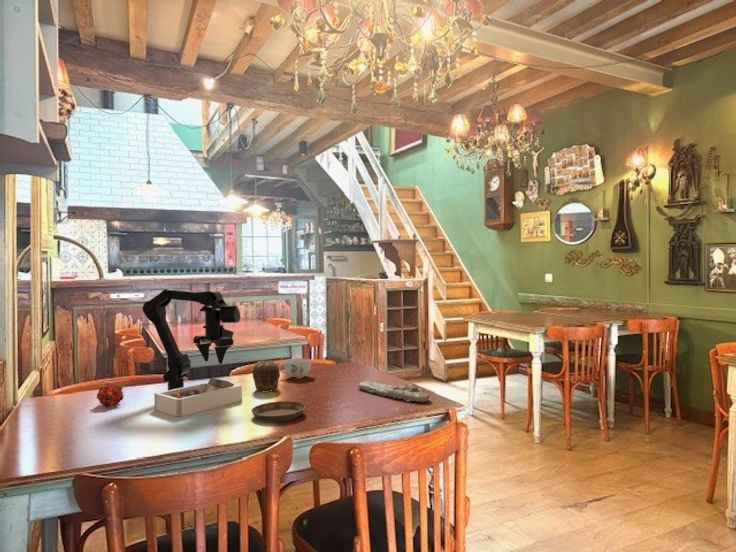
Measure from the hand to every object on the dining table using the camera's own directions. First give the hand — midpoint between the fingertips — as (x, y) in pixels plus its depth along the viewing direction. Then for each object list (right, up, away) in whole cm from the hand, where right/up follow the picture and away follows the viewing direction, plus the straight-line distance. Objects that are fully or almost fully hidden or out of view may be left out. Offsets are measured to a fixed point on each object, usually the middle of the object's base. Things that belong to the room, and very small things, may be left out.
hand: (213, 362), depth 196 cm
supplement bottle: (-1, -10, -14) cm, 17 cm away
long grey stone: (+70, -13, -3) cm, 71 cm away
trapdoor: (+5, -11, -7) cm, 14 cm away
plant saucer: (+31, -13, -29) cm, 44 cm away
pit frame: (-1, -13, -14) cm, 19 cm away
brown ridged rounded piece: (+19, -13, +8) cm, 24 cm away
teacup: (+28, -13, +32) cm, 44 cm away
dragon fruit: (-34, -14, -13) cm, 39 cm away
